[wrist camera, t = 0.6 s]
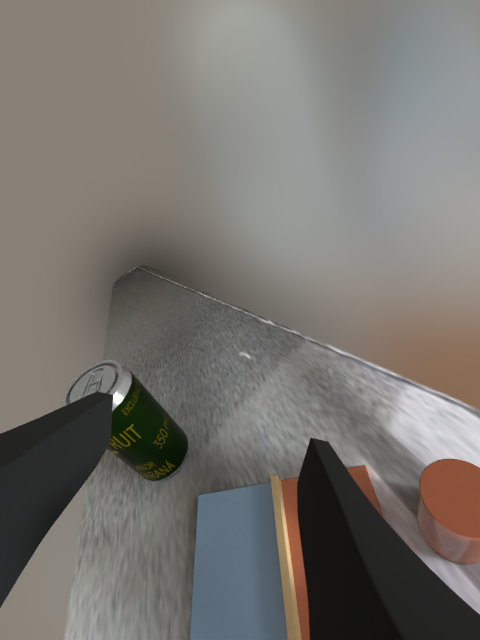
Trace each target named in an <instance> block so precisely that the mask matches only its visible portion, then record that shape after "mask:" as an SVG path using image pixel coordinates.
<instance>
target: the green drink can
mask: <svg viewBox="0 0 480 640" xmlns="http://www.w3.org/2000/svg"><path fill="white" fill-rule="evenodd" d="M95 392H102V393H107V394H111V395H113V408H112V425H111V441H110V443H109V445H108V447H107V449H108V450H110V451H111V452H112V453H114V454H115V455H116V456H117V457H119V458H120V459H121V460H122V461H124V462H125V463H126V464H128V465H129V466H130V467H131V468H133V469H134V470H135V471H136V472H138V473H139V474H140V475H142V476H143V477H144V478H145V479H148V480H151V481H159V480H166V479H168V478H170V477H172V476H173V475H174V474H176V473H177V472H178V471H179V470H180V469H181V467H182V466H183V465H184V463H185V460H186V458H187V455H188V441H187V436H186V435H185V433H184V431H183V430H182V429H181V428H180V427H179V426H178V425H177V423H176V422H175V421H174V420H173V419H172V418H171V417H170V416H169V414H168V413H167V412H166V411H165V410H164V409H163V408H162V406H161V405H160V404H159V403H158V402H157V401H156V400H155V399H154V397H153V396H152V395H151V394H150V393H149V392H148V391H147V389H146V388H145V387H144V386H143V385H142V384H141V383H140V382H139V380H138V379H137V378H136V377H135V376H134V375H133V374H132V372H131V371H130V370H129V369H127V368H126V367H124V366H121V365H120V364H119V363H118V362H116V361H114V360H106V361H102V362H99V363H97V364H94V365H92V366H90V367H89V368H87V369H86V370H84V371H83V372H82V373H81V374H80V375H79V376H77V377H76V378H75V379H74V381H73V382H72V383H71V385H70V386H69V387H68V389H67V391H66V393H65V394H64V398H63V407H64V406H66V405H68V404H70V403H72V402H75V401H77V400H79V399H81V398H83V397H85V396H87V395H90V394H92V393H95Z"/></svg>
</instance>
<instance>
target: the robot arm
mask: <svg viewBox="0 0 480 640" xmlns="http://www.w3.org/2000/svg"><path fill="white" fill-rule="evenodd" d="M112 408H113V395H111V394H107V393H102V392H95V393H92V394H90V395H87V396H85V397H83V398H81V399H79V400H77V401H75V402H72V403H70V404H68V405H66V406H64V407H62V408H60V409H58V410H55V411H53V412H51V413H49V414H47V415H44V416H42V417H40V418H38V419H35V420H33V421H31V422H28V423H26V424H23V425H21V426H19V427H16V428H14V429H11V430H9V431H7V432H4V433H1V434H0V607H1V606H2V604H3V602H4V600H5V599H6V597H7V596H8V594H9V592H10V591H11V589H12V587H13V586H14V584H15V582H16V580H17V579H18V577H19V576H20V574H21V573H22V571H23V569H24V568H25V566H26V565H27V563H28V561H29V560H30V558H31V557H32V555H33V553H34V552H35V550H36V549H37V547H38V545H39V544H40V542H41V541H42V539H43V538H44V537H45V535H46V534H47V532H48V531H49V529H50V528H51V526H52V525H53V524H54V522H55V521H56V520H57V519H58V517H59V516H60V515H61V513H62V512H63V510H64V509H65V508H66V507H67V505H68V504H69V503H70V501H71V500H72V498H73V497H74V496H75V494H76V493H77V492H78V491H79V489H80V488H81V487H82V485H83V484H84V483H85V481H86V480H87V479H88V477H89V476H90V474H91V473H92V472H93V470H94V469H95V468H96V466H97V464H98V463H99V461H100V459H101V457H102V456H103V454H104V452H105V450H106V449H107V447H108V445H109V443H110V441H111V425H112ZM297 514H298V523H299V531H300V539H301V547H302V555H303V563H304V571H305V579H306V587H307V597H308V610H309V634H310V640H480V615H479V614H478V613H477V612H476V611H475V610H474V609H472V608H471V607H470V606H469V605H468V604H467V603H466V602H465V601H463V600H462V599H461V598H460V597H459V596H458V595H457V594H456V593H455V592H454V591H453V590H451V589H450V588H449V587H448V586H447V585H446V584H445V583H444V582H443V581H442V580H441V579H440V578H439V577H438V576H437V575H436V574H435V573H434V572H433V571H432V570H431V569H430V568H429V567H428V566H427V565H426V564H425V563H424V562H423V561H422V560H421V559H420V558H419V557H418V556H417V555H416V554H415V553H414V552H413V551H412V550H411V549H410V548H409V546H408V545H407V544H406V543H405V542H404V541H403V540H402V539H401V538H400V537H399V535H398V534H397V533H396V532H395V531H394V530H393V529H392V528H391V526H390V525H389V524H388V523H387V522H386V521H385V519H384V518H383V517H382V516H381V514H380V513H379V512H378V511H377V509H376V508H375V507H374V506H373V504H372V503H371V502H370V500H369V499H368V498H367V497H366V495H365V494H364V493H363V491H362V490H361V489H360V487H359V486H358V484H357V483H356V482H355V480H354V479H353V477H352V476H351V475H350V473H349V472H348V470H347V469H346V467H345V466H344V464H343V463H342V461H341V460H340V458H339V457H338V455H337V454H336V452H335V451H334V450H333V448H332V447H331V445H330V444H329V442H327V441H323V440H318V439H314V438H311V439H310V442H309V446H308V449H307V452H306V455H305V459H304V462H303V465H302V469H301V472H300V475H299V479H298V482H297Z"/></svg>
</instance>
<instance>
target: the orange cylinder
mask: <svg viewBox="0 0 480 640" xmlns="http://www.w3.org/2000/svg"><path fill="white" fill-rule="evenodd" d="M417 523H418V527H419V530H420V532H421V534H422V536H423V538H424V540H425V541H426V542H427V544H428V545H429V546H430V547H431V548H432V549H433V550H434V551H435V552H436V553H438V554H439V555H440V556H442V557H444V558H445V559H447V560H449V561H452V562H455V563H459V564H474V563H477V562H479V561H480V468H479V467H477V466H475V465H473V464H471V463H469V462H465V461H462V460H458V459H442V460H438V461H435V462H433V463H431V464H430V465H428V466H427V467H426V468H425V469H424V471H423V472H422V474H421V477H420V481H419V493H418V505H417Z"/></svg>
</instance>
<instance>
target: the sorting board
mask: <svg viewBox="0 0 480 640" xmlns="http://www.w3.org/2000/svg"><path fill="white" fill-rule="evenodd" d="M346 469H347V470H348V472H349V473H350V475H351V476H352V477H353V479H354V480H355V482H356V483H357V484H358V486H359V487H360V489H361V490H362V491H363V493H364V494H365V495H366V497H367V498H368V499H369V500H370V502H371V503H372V504H373V506H374V507H375V508H376V509H377V511H378V512H379V513H380V514H381V516H382V513H381V510H380V507H379V504H378V501H377V498H376V495H375V492H374V490H373V487H372V484H371V481H370V478H369V475H368V472H367V469H366V466H365V465H363V466H357V467H352V468H346ZM270 479H271V482H269V483H264V484H258V485H253V486H247V487H242V488H236V489H231V490H225V491H220V492H214V493H209V494H203V495H199V496H198V510H197V526H196V543H195V559H194V576H193V592H192V609H191V625H190V640H310V634H309V610H308V597H307V587H306V579H305V571H304V563H303V555H302V547H301V539H300V531H299V523H298V514H297V482H298V479H299V477H297V478H291V479H286V480H280V478H279V477H278V475H277V474H276V475H271V476H270ZM382 517H383V516H382Z"/></svg>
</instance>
